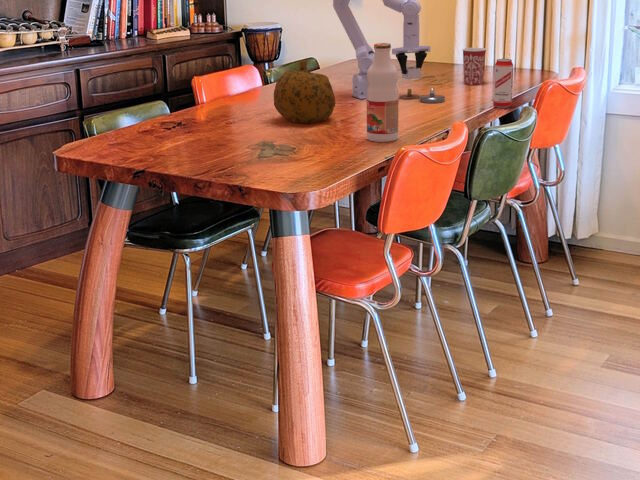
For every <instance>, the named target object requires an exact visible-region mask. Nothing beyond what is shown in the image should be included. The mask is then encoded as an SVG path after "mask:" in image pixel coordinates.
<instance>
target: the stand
mask: <svg viewBox="0 0 640 480" xmlns="http://www.w3.org/2000/svg"><path fill="white" fill-rule="evenodd" d="M399 99H402V100H417V99H420V95H419V94H412V89H411V88H408V89H407V94H406V93H405V94H401V95H399Z"/></svg>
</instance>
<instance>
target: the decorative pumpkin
mask: <svg viewBox="0 0 640 480" xmlns="http://www.w3.org/2000/svg"><path fill="white" fill-rule="evenodd" d="M307 63H308V62H307V60H300V61H299V70H297V69H296V70H287V71H285V72H284V73H283V74H281V76H280V77H279V78H278V79H277V81H276V82H275V87H274V91H273V105H274V108H275V109H276V112H278V113H279V115H281V116H282V117H283V118H285V120H288V121H290V122H292V123H293V122H294V123H295V124H296V123H297V124H298V123H299V124H300V123H302V124H307V125H310V124H312V123H314V122H315V123H316V122H322V121H325V120H326V119H328V118H329V117H330V116H331V115H332V114H333V112H334V110H335V109H334V108H335V107H336V104H337V103H336V95H335V93H334V89H333V86H332V83H331V82H330V79H329V77H328V76H327V75H326V74H322V73H319V72H318V73H315V72H311V71H308V68H307Z"/></svg>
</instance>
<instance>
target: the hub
mask: <svg viewBox="0 0 640 480" xmlns="http://www.w3.org/2000/svg"><path fill="white" fill-rule="evenodd" d="M435 91H436V90H435V88H434V87H430V88H429V94H423V95H419V103H423V104H440V103H441V104H442V103H444V102H445V101H446V96H445V95H441V94H435V93H436V92H435Z"/></svg>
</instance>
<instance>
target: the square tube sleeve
mask: <svg viewBox="0 0 640 480" xmlns="http://www.w3.org/2000/svg"><path fill="white" fill-rule="evenodd" d="M401 78H402V79H406V80H417V79H422V68H419V67H416V65H413V66H406V74H402V73H401Z"/></svg>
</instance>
